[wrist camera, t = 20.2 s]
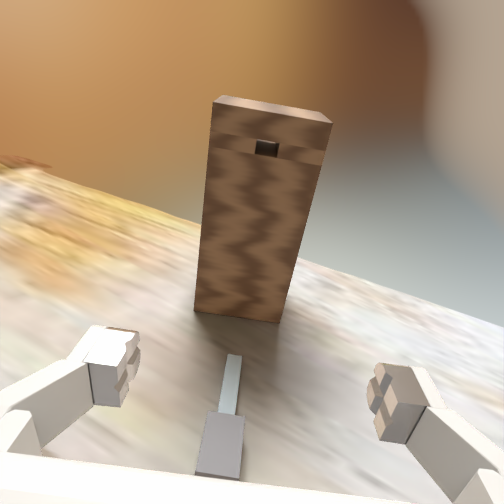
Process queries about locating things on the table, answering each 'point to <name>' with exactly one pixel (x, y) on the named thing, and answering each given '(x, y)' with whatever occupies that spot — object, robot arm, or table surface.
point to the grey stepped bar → (223, 430)
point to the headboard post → (256, 204)
